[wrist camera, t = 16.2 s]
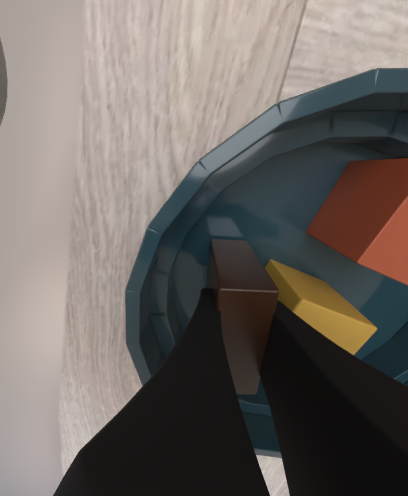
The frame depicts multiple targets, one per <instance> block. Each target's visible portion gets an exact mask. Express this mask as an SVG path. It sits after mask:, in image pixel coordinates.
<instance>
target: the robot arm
mask: <svg viewBox="0 0 408 496" xmlns="http://www.w3.org/2000/svg"><path fill="white" fill-rule="evenodd" d="M259 376H260V379H261V382H262V385H263V388H264V391H265V394H266V397H267V400H268V403H269V407H270V410H271V414H272V417H273V421H274V426H275V430H276V434H277V439H278V443H279V447H280V452H281V456H282V461H283V465H284V470H285V475H286V479H287V484H288V488H289V493H290V496H408V386H406V385H404V384H402V383H401V382H399V381H397V380H395V379H393V378H392V377H390V376H388V375H386V374H384V373H383V372H381V371H379V370H377V369H376V368H374V367H372V366H370V365H369V364H367V363H365V362H364V361H362V360H360V359H359V358H357V357H356V356H354V355H353V354H351V353H349V352H348V351H346V350H345V349H343V348H342V347H340V346H338V345H337V344H335V343H334V342H333V341H331V340H330V339H328V338H327V337H325V336H324V335H323V334H321V333H320V332H318V331H317V330H316V329H314V328H313V327H312V326H310V325H309V324H308V323H306V322H305V321H304V320H303V319H301V318H300V317H299V316H297V315H296V314H295V313H294V312H292V311H291V310H290V309H289V308H288V307H286V306H285V305H284V304H283V303H281V302H280V301H279V300H278V301H277V306H276V310H275V313H274V315H273V319H272V323H271V327H270V331H269V336H268V340H267V344H266V348H265V352H264V356H263V360H262V364H261V369H260V373H259ZM53 496H270V494H269V492H268V489H267V486H266V483H265V480H264V478H263V475H262V472H261V469H260V466H259V463H258V460H257V457H256V454H255V451H254V448H253V445H252V442H251V439H250V436H249V433H248V430H247V427H246V423H245V420H244V417H243V414H242V410H241V407H240V404H239V400H238V397H237V393H236V390H235V386H234V383H233V379H232V375H231V371H230V367H229V363H228V359H227V355H226V350H225V346H224V341H223V336H222V326H221V311H217V309H216V304H215V299H214V294H213V290H212V288H203V289H201V292H200V298H199V301H198V304H197V307H196V309H195V311H194V314H193V316H192V318H191V320H190V322H189V323H188V325H187V327H186V329H185V331H184V332H183V334H182V336H181V337H180V339H179V340H178V342H177V344H176V345H175V346H174V348H173V349H172V351H171V352H170V354H169V355H168V356H167V358H166V359H165V360H164V361H163V363H162V364H161V365H160V367H159V368H158V369H157V370H156V372H155V373H154V374H153V375H152V377H151V378H150V379H149V380H148V381H147V382H146V383H145V384H144V386H143V387H142V388H141V389H140V390H139V391H138V392H137V393H136V395H135V396H134V397H133V398H132V399H131V400H130V401H129V402H128V403H127V404H126V405H125V407H124V408H123V409H122V410H121V411H120V412H119V413H118V414H117V415H116V416H115V417H114V418H113V419H112V420H111V421H109V422H108V423H107V424H106V425H105V426H104V427H103V428H102V429H101V430H100V431H99V432H98V433H97V434H96V435H95V436H94V437H93V438H92V439H91V440H90V441H89V442H88V443H87V444H86V445H85V446H84V447H83V448H82V449H81V450H80V451H79V452H78V454H77V456H76V457H75V459H74V460H73V462H72V464H71V465H70V467H69V469H68V470H67V472H66V474H65V476H64V477H63V479H62V481H61V482H60V484H59V486H58V488H57V490H56V492H55V493H54V495H53Z"/></svg>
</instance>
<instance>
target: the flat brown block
mask: <svg viewBox="0 0 408 496" xmlns="http://www.w3.org/2000/svg"><path fill="white" fill-rule="evenodd" d="M207 288H212V290H213V294H214V299H215V304H216V309H217V311H221V326H222V336H223V341H224V346H225V350H226V355H227V359H228V363H229V367H230V371H231V375H232V379H233V383H234V386H235V390H236V393H237V394H256V392H257V388H258V384H259V379H260V376H259V373H260V369H261V364H262V360H263V356H264V352H265V348H266V344H267V340H268V336H269V331H270V327H271V323H272V319H273V315H274V313H275V310H276V306H277V301H278V297H279V293H280V292H279V289H278V288H277V286H276V285H275V283H274V282H273V280H272V279H271V277H270V276H269V274H268V273H267V271H266V270H265V268H264V266H263V265H262V263H261V262H260V260H259V259H258V257H257V256H256V254H255V253H254V251H253V250H252V248H251V247H250V245H249V244H248V242H247V241H245V240H226V239H211V240H210V252H209V265H208V278H207Z"/></svg>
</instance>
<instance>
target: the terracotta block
mask: <svg viewBox="0 0 408 496" xmlns="http://www.w3.org/2000/svg"><path fill="white" fill-rule="evenodd" d="M306 233H307V234H309V235H311V236H312V237H314V238H316V239H317V240H319V241H321V242H322V243H324V244H326V245H327V246H329V247H331V248H332V249H334V250H336V251H337V252H339V253H341V254H342V255H344V256H346V257H347V258H349V259H351V260H352V261H354V262H356V263H358V264H360V265H362V266H365V267H367V268H369V269H371V270H374V271H376V272H378V273H380V274H383V275H385V276H387V277H389V278H392V279H394V280H396V281H398V282H401V283H403V284H405V285H407V286H408V158H402V159H381V160H361V161H350V162H349V164H348V165H347V167H346V168H345V170H344V172H343V173H342V175H341V176H340V178H339V180H338V181H337V183H336V184H335V186H334V187H333V189H332V191H331V192H330V194H329V195H328V197H327V199H326V200H325V202H324V203H323V205H322V206H321V208H320V210H319V211H318V213H317V214H316V216H315V218H314V219H313V221H312V222H311V224H310V225H309V227H308V229H307V230H306Z"/></svg>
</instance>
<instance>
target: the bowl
mask: <svg viewBox="0 0 408 496" xmlns="http://www.w3.org/2000/svg"><path fill="white" fill-rule="evenodd" d="M402 158H408V68H377V69H372V70H369V71H366V72H363V73H360V74H357V75H355V76H352V77H349V78H346V79H343V80H340V81H337V82H335V83H332V84H329V85H326V86H323V87H320V88H318V89H315V90H312V91H309V92H306V93H303V94H300V95H298V96H295V97H292V98H289V99H286V100H283V101H281V102H279V103H277V104H275V105H273V106H272V107H270V108H269V109H268V110H266V111H265V112H264V113H262V114H261V115H259V116H258V117H257V118H255V119H254V120H253V121H251V122H250V123H248V124H247V125H246V126H244V127H243V128H242V129H240V130H239V131H237V132H236V133H235V134H233V135H232V136H231V137H229V138H228V139H226V140H225V141H224V142H222V143H221V144H220V145H218V146H217V147H215V148H214V149H213V150H211V151H210V152H209V153H207V154H206V155H204V156H203V157H202V158H200V159H199V162H196V163H195V165H194V166H193V167H192V169H191V170H190V171H189V173H188V174H187V175H186V177H185V178H184V179H183V180H182V182H181V183H180V184H179V186H178V187H177V188H176V190H175V191H174V192H173V194H172V195H171V196H170V198H169V199H168V200H167V201H166V203H165V204H164V205H163V207H162V208H161V209H160V211H159V212H158V213H157V215H156V216H155V217H154V219H153V220H152V221H151V222H150V224H149V226H148V228H147V229H146V232H145V235H144V238H143V241H142V243H141V246H140V249H139V252H138V255H137V258H136V261H135V264H134V266H133V269H132V272H131V275H130V278H129V281H128V284H127V286H126V291H125V308H126V344H127V347H128V350H129V352H130V355H131V358H132V360H133V363H134V365H135V368H136V370H137V373H138V375H139V378H140V380H141V383H142V385H143V386H144V384H145V383H146V382H147V381H148V380H149V379H150V378H151V377H152V375H153V374H154V373H155V372H156V370H157V369H158V368H159V367H160V365H161V364H162V363H163V361H164V360H165V359H166V358H167V356H168V355H169V354H170V352H171V351H172V349H173V348H174V346H175V345H176V344H177V342H178V340H179V339H180V337H181V336H182V334H183V332H184V331H185V329H186V327H187V325H188V323H189V322H190V320H191V318H192V316H193V314H194V311H195V309H196V307H197V304H198V301H199V298H200V292H201V289H203V288H207V278H208V265H209V252H210V240H211V239H226V240H245V241H247V242H248V244H249V245H250V247H251V248H252V250H253V251H254V253H255V254H256V256H257V257H258V259H259V260H260V262H261V263H262V265H263V266H264V268H265V267H266V265H267V263H268V262H269V260H270V259H271V260H274V261H276V262H279V263H281V264H284V265H286V266H289V267H291V268H293V269H296V270H298V271H301V272H303V273H305V274H308V275H310V276H313V277H315V278H318V279H320V280H322V281H325V282H326V283H327V284H329V285H330V286H331V287H332V288H333V289H334V290H335V291H336V292H338V293H339V294H340V295H341V296H342V297H343V298H344V299H345V300H347V301H348V302H349V303H350V304H351V305H352V306H353V307H354V308H356V309H357V310H358V311H359V312H360V313H361V314H362V315H363V316H365V317H366V318H367V319H368V320H369V321H370V322H371V323H372V324H374V325H375V326H376V327H377V330H376V332H375V333H374V334H373V335H372V336H371V337H370V338H369V339H368V340H367V341H366V342H365V343H364V345H363V346H362V347H361V348H360V349H359V350H358V351H357V352H356V353H355V354H354V356H356V357H357V358H359V359H360V360H362V361H364V362H365V363H367V364H369V365H370V366H372V367H374V368H376V369H377V370H379V371H381V372H383V373H384V374H386V375H388V376H390V377H392V378H393V379H395V380H397V381H399V382H401V383H402V384H404V385H406V386H408V286H407V285H405V284H403V283H401V282H398V281H396V280H394V279H392V278H389V277H387V276H385V275H383V274H380V273H378V272H376V271H374V270H371V269H369V268H367V267H365V266H362V265H360V264H358V263H356V262H354V261H352V260H351V259H349V258H347V257H346V256H344V255H342V254H341V253H339V252H337V251H336V250H334V249H332V248H331V247H329V246H327V245H326V244H324V243H322V242H321V241H319V240H317V239H316V238H314V237H312V236H311V235H309V234H307V233H306V230H307V229H308V227H309V225H310V224H311V222H312V221H313V219H314V218H315V216H316V214H317V213H318V211H319V210H320V208H321V206H322V205H323V203H324V202H325V200H326V199H327V197H328V195H329V194H330V192H331V191H332V189H333V187H334V186H335V184H336V183H337V181H338V180H339V178H340V176H341V175H342V173H343V172H344V170H345V168H346V167H347V165H348V164H349V162H350V161H361V160H381V159H402ZM237 397H238V400H239V404H240V407H241V410H242V414H243V417H244V420H245V423H246V427H247V430H248V433H249V436H250V439H251V442H252V445H253V448H254V451H255V454H256V455H262V456H270V457H278V458H282V456H281V452H280V447H279V443H278V439H277V434H276V430H275V426H274V421H273V417H272V414H271V410H270V407H269V403H268V400H267V397H266V394H265V391H264V388H263V385H262V382H261V379H259V384H258V388H257V392H256V394H237Z"/></svg>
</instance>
